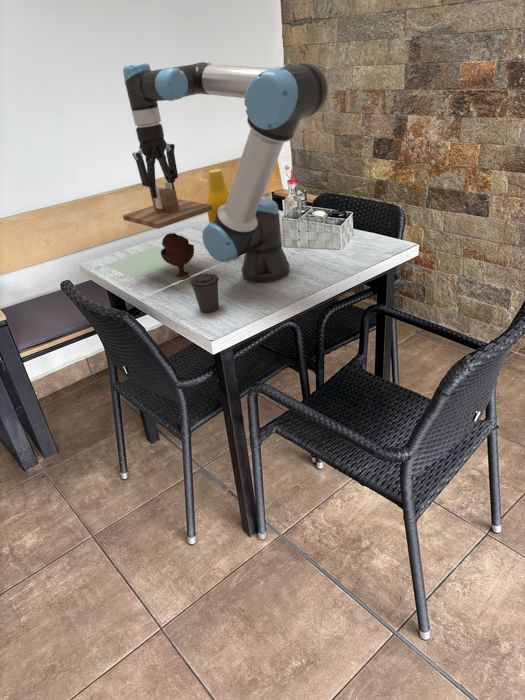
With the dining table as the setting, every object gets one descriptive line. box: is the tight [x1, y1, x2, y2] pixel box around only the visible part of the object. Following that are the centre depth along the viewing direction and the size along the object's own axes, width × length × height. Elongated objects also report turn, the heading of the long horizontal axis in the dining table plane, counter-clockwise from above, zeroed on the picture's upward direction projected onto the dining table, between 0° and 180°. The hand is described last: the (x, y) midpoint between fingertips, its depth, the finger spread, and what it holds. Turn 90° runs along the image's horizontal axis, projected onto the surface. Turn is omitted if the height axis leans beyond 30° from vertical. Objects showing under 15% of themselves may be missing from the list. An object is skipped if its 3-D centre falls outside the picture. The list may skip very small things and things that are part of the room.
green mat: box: [104, 245, 172, 280], centre depth 188 cm, size 22×22×1 cm
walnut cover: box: [122, 187, 212, 230], centre depth 163 cm, size 20×20×8 cm
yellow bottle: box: [206, 168, 230, 224], centre depth 179 cm, size 9×9×29 cm
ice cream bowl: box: [161, 232, 195, 281], centre depth 170 cm, size 11×11×15 cm
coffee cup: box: [189, 273, 220, 315], centre depth 148 cm, size 8×8×10 cm
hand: (166, 205), depth 163 cm, fingers closed on walnut cover, 4 cm apart
